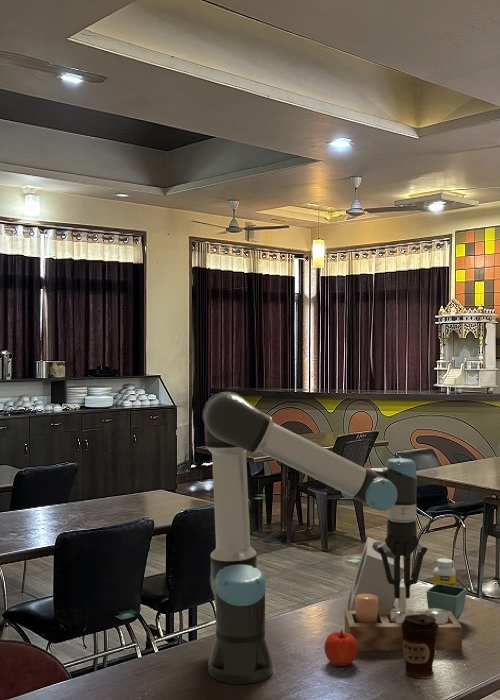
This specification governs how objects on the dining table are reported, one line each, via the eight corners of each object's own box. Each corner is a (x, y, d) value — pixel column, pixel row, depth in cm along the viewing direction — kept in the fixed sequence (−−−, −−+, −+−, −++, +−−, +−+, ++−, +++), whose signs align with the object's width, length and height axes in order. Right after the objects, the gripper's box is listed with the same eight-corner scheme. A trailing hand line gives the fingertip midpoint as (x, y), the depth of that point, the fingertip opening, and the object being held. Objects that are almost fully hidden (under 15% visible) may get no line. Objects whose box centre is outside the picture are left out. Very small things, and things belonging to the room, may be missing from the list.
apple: (338, 654, 195) (338, 621, 195) (364, 663, 189) (364, 630, 189) (317, 663, 189) (317, 630, 189) (343, 673, 184) (343, 639, 184)
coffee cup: (430, 685, 177) (430, 627, 177) (395, 676, 182) (395, 620, 181) (442, 671, 185) (443, 616, 184) (409, 663, 189) (409, 609, 189)
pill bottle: (434, 601, 235) (434, 562, 235) (432, 594, 241) (432, 557, 241) (456, 602, 234) (456, 563, 234) (454, 595, 240) (454, 557, 240)
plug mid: (392, 642, 200) (392, 615, 200) (389, 634, 206) (389, 607, 206) (414, 642, 200) (414, 615, 200) (410, 634, 206) (410, 607, 206)
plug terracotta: (357, 628, 200) (357, 600, 200) (354, 620, 206) (354, 593, 206) (379, 628, 200) (379, 600, 200) (375, 620, 206) (375, 593, 206)
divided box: (349, 650, 197) (349, 626, 197) (344, 632, 209) (344, 610, 209) (461, 651, 197) (461, 627, 197) (450, 633, 209) (450, 611, 209)
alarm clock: (348, 600, 236) (348, 533, 236) (401, 603, 234) (401, 534, 234) (345, 624, 216) (346, 550, 216) (404, 627, 214) (404, 552, 214)
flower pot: (467, 620, 219) (467, 588, 219) (457, 629, 212) (457, 596, 212) (436, 614, 224) (436, 582, 224) (425, 623, 216) (425, 591, 216)
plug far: (427, 642, 200) (427, 615, 200) (423, 634, 206) (423, 608, 206) (450, 643, 200) (450, 615, 200) (445, 635, 206) (445, 608, 205)
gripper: (378, 522, 199) (378, 615, 199) (430, 522, 199) (430, 615, 199) (374, 516, 207) (374, 605, 207) (424, 516, 206) (424, 605, 207)
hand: (402, 610), depth 203 cm, fingers closed
